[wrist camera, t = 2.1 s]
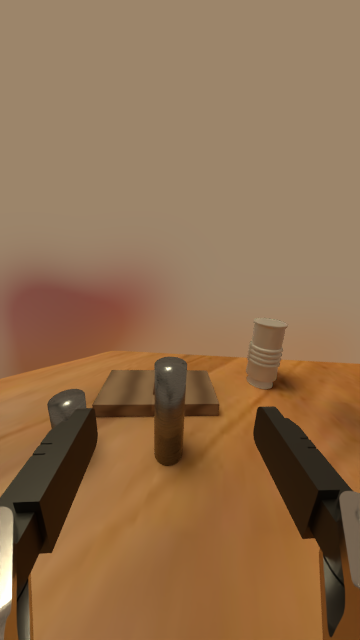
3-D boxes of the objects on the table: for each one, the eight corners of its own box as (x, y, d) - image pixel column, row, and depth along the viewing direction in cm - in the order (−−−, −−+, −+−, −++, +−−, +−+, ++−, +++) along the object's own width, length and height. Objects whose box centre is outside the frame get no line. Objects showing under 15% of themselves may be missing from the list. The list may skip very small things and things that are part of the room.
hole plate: (93, 416, 32) (92, 404, 31) (112, 379, 42) (111, 370, 41) (217, 415, 33) (219, 403, 32) (206, 379, 44) (206, 370, 43)
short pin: (51, 469, 23) (39, 411, 21) (67, 440, 27) (59, 388, 25) (83, 468, 23) (75, 410, 21) (95, 440, 27) (90, 388, 25)
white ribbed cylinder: (242, 371, 48) (251, 316, 44) (271, 376, 46) (282, 319, 42) (245, 387, 42) (255, 324, 37) (278, 392, 40) (293, 328, 36)
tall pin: (153, 466, 24) (153, 373, 20) (155, 439, 28) (155, 356, 24) (183, 465, 24) (188, 373, 21) (181, 438, 28) (185, 356, 24)
